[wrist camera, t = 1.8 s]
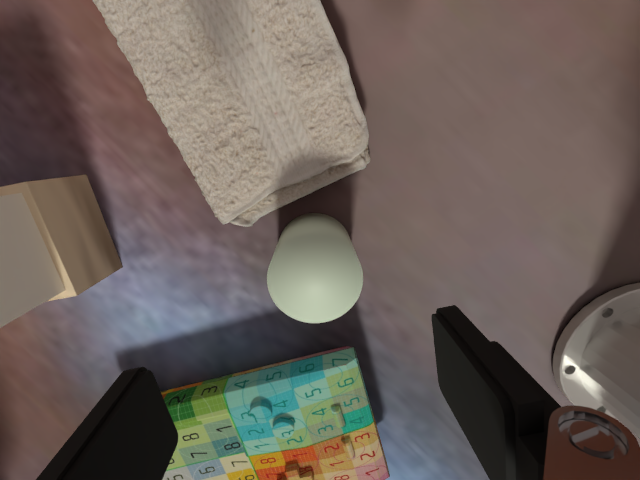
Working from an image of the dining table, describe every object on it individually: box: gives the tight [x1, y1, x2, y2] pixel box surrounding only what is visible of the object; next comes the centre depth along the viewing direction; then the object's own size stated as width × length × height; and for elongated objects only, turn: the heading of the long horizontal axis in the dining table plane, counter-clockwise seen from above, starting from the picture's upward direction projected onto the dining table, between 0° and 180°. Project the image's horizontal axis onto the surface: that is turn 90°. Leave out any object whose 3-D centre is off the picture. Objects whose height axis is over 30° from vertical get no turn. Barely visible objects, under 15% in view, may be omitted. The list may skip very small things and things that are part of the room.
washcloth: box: [93, 0, 370, 227], centre depth 20 cm, size 12×18×3 cm, turn 26°
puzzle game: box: [161, 346, 390, 480], centre depth 26 cm, size 12×5×20 cm
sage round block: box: [267, 213, 363, 323], centre depth 21 cm, size 6×6×6 cm
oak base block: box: [0, 175, 122, 301], centre depth 21 cm, size 7×7×5 cm
